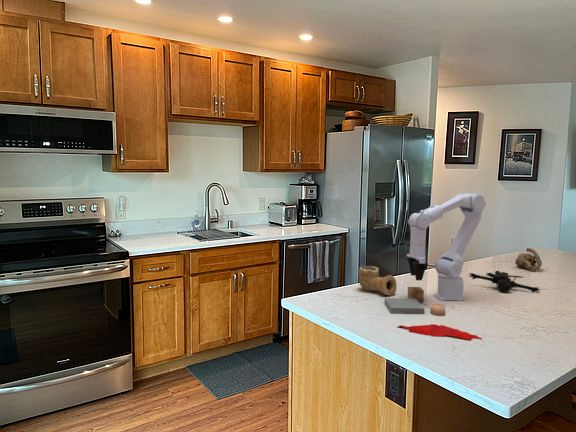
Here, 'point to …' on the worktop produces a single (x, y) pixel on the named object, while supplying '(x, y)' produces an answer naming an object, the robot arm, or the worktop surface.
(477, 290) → the worktop surface
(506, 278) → the toy
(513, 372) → the worktop surface
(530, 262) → the tan lumpy piece
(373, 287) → the pipe
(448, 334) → the cloth
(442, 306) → the terracotta puck
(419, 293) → the walnut cube
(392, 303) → the slate base
